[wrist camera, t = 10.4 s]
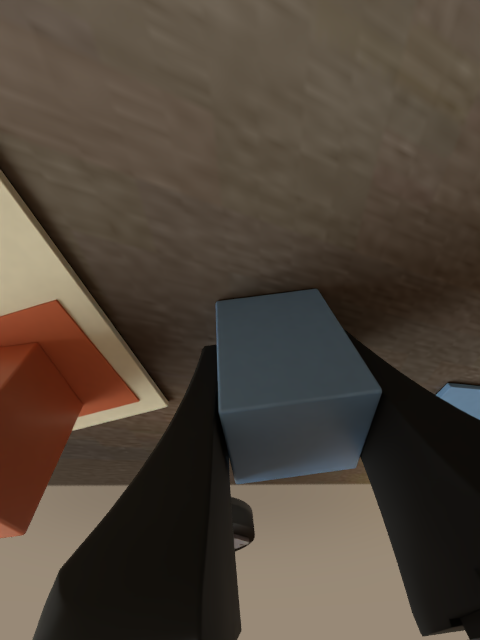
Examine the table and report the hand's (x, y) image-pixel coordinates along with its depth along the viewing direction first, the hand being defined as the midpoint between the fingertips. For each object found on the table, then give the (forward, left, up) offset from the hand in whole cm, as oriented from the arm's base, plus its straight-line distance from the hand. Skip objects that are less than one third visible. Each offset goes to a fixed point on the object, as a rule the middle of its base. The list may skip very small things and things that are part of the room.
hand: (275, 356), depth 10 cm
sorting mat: (-3, +18, -1) cm, 19 cm away
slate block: (0, 0, -1) cm, 1 cm away
